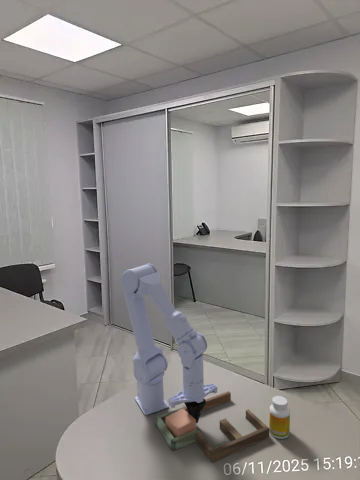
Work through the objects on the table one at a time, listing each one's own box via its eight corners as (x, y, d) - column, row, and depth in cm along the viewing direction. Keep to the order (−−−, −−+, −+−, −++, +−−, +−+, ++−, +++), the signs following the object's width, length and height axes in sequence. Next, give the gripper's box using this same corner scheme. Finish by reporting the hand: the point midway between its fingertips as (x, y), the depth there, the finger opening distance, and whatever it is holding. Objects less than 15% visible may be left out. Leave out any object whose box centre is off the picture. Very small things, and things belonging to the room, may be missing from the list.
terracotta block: (166, 431, 97) (165, 417, 96) (183, 422, 101) (182, 408, 100) (178, 444, 92) (177, 429, 92) (196, 434, 96) (195, 419, 95)
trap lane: (156, 424, 100) (155, 416, 100) (228, 398, 111) (228, 391, 110) (187, 473, 83) (186, 464, 83) (269, 436, 94) (269, 428, 94)
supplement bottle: (290, 440, 92) (291, 407, 91) (269, 438, 94) (270, 405, 92) (288, 426, 98) (289, 395, 96) (268, 424, 99) (269, 393, 97)
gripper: (176, 393, 90) (177, 439, 92) (223, 377, 96) (223, 421, 99) (164, 379, 96) (166, 423, 99) (209, 365, 103) (210, 407, 105)
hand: (194, 421), depth 99 cm, fingers closed
